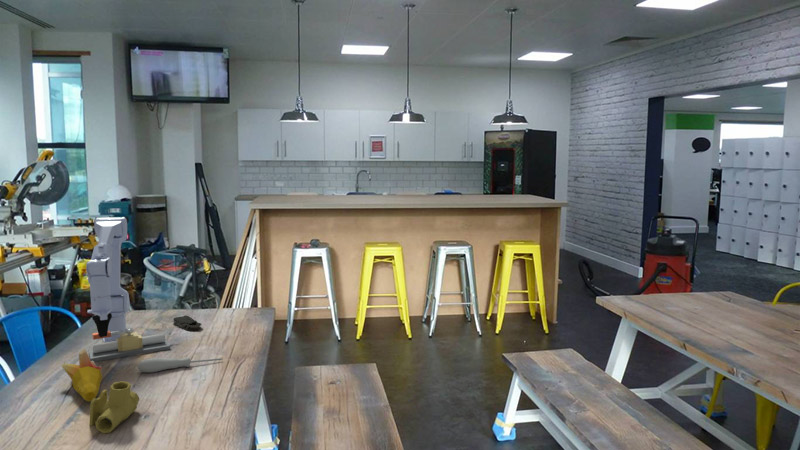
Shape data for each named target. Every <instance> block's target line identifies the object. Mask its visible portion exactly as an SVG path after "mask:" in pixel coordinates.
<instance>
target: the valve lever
mask: <svg viewBox="0 0 800 450" xmlns="http://www.w3.org/2000/svg"><path fill="white" fill-rule="evenodd" d="M133 332H134V328H132V327H130V328H126V329H125V330H119V331H113V332H110V331H108V333H107V336H104V337H99V334H98V332H94V333H92V340H94V341H95V340H100V339H103V338H107V337H111V336H112V335H118V334H124V333H133Z"/></svg>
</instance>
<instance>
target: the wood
mask: <svg viewBox="0 0 800 450" xmlns="http://www.w3.org/2000/svg"><path fill="white" fill-rule="evenodd" d="M173 321H174V322H173V326H175V327H176V328H178V329H183V330H185V331H187V332H197V331H199V330H200V328H201V326H202V323H201V322H198V321H197V320H196V319H193V318H192V317H191V316H189V315H186V314H185V315H183V316H178V317H177V316H175V317H173Z"/></svg>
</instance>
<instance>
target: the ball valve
mask: <svg viewBox="0 0 800 450" xmlns="http://www.w3.org/2000/svg"><path fill="white" fill-rule="evenodd" d="M131 386H132V383H130V382H128V381H124V380H122V381H116V382H113V383H112V384H111V385H110V386H109V387H110V388H109V392H108V390H107V389H103V390H102V391H101V392H100V394H99V395H98V397H97V398H96V397H95V398H93V399H92V401H90V403H89V404H90V405H89V426H90V427H93V426H94V425H95V428H96V430H97V431H99V432H101V434H110V433H112V431H113V430H115V428H117V427H118V426H119V425H120V424H122V423H123V422H124V421H125V420H127V419H128V418H129V417H130V415H132V414H133V413H134V412H135V411H136V410H137V407H138V405H139V401H140V397H139V395H138V393H137V392H136V391H133V390H131V388H132V387H131ZM108 393H109V394H108Z"/></svg>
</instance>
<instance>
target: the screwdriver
mask: <svg viewBox="0 0 800 450" xmlns="http://www.w3.org/2000/svg"><path fill="white" fill-rule="evenodd" d="M222 360H223V358H221V357H219V358H209V359H207V358H206V359H197V360H191V359H190V356H186V357H185V358H176V357H175V358H159V357H150V358H146V359H142V360H141V361H140V362H139V363H138V364H137V370H138V371H140V372H142V373H147V374H149V373H157V372H160V371H166V370H170V369H177V368H180V367H185V368H190V366H191V364H192V363H203V362H213V361H214V362H215V361H222Z"/></svg>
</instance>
